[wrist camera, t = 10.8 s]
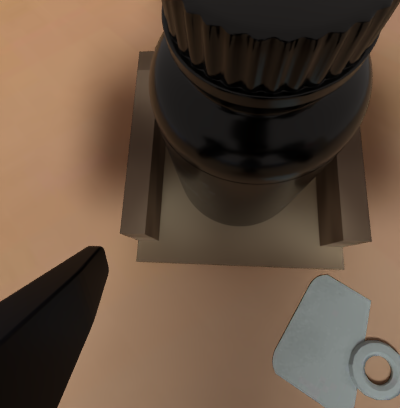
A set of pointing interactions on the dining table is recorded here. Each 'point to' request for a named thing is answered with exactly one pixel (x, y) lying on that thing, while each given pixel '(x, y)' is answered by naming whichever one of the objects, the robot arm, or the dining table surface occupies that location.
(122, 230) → the walnut well
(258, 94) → the supplement bottle
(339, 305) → the mounting bracket
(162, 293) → the dining table surface
